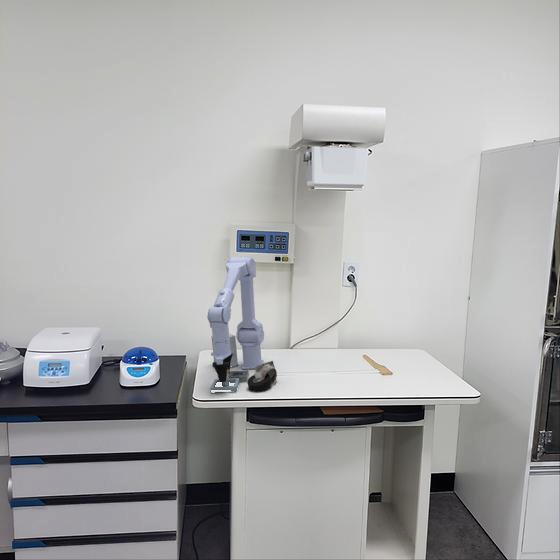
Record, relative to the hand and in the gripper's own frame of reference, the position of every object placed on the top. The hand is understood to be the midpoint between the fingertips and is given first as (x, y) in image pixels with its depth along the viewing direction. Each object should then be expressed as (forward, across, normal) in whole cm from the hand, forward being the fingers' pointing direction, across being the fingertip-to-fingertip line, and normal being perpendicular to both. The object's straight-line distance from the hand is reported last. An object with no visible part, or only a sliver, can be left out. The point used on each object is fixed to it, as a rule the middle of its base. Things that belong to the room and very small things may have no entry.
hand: (224, 377), depth 176 cm
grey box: (+4, -25, -4) cm, 26 cm away
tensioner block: (+4, -8, +4) cm, 10 cm away
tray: (+4, 0, 0) cm, 4 cm away
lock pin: (+3, 0, 0) cm, 3 cm away
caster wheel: (+4, 0, +14) cm, 14 cm away
